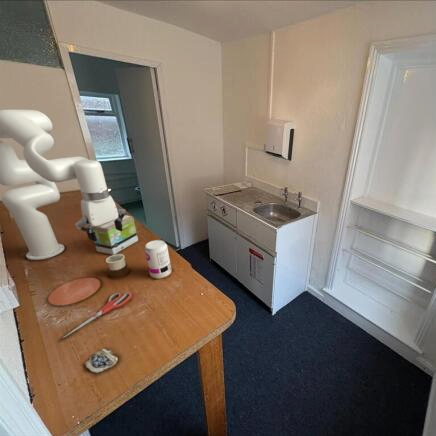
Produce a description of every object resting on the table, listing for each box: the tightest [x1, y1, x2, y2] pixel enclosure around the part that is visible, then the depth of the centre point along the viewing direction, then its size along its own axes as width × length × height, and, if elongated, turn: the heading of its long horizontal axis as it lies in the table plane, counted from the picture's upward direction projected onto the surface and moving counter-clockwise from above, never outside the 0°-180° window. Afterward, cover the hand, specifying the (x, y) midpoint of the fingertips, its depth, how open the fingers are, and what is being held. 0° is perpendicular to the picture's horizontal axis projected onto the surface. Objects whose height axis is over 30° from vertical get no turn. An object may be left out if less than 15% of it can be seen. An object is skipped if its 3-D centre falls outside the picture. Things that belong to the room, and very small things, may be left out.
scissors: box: [62, 292, 133, 339], centre depth 80 cm, size 8×21×2 cm, turn 170°
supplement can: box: [144, 239, 172, 280], centre depth 99 cm, size 8×8×15 cm
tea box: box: [93, 213, 139, 256], centre depth 115 cm, size 15×10×15 cm, turn 168°
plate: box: [47, 277, 101, 306], centre depth 89 cm, size 15×15×1 cm
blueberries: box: [84, 348, 119, 374], centre depth 66 cm, size 7×8×2 cm
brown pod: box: [107, 261, 129, 279], centre depth 99 cm, size 7×7×4 cm
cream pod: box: [105, 253, 126, 270], centre depth 97 cm, size 6×6×4 cm
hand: (107, 235), depth 93 cm, fingers open, 9 cm apart
